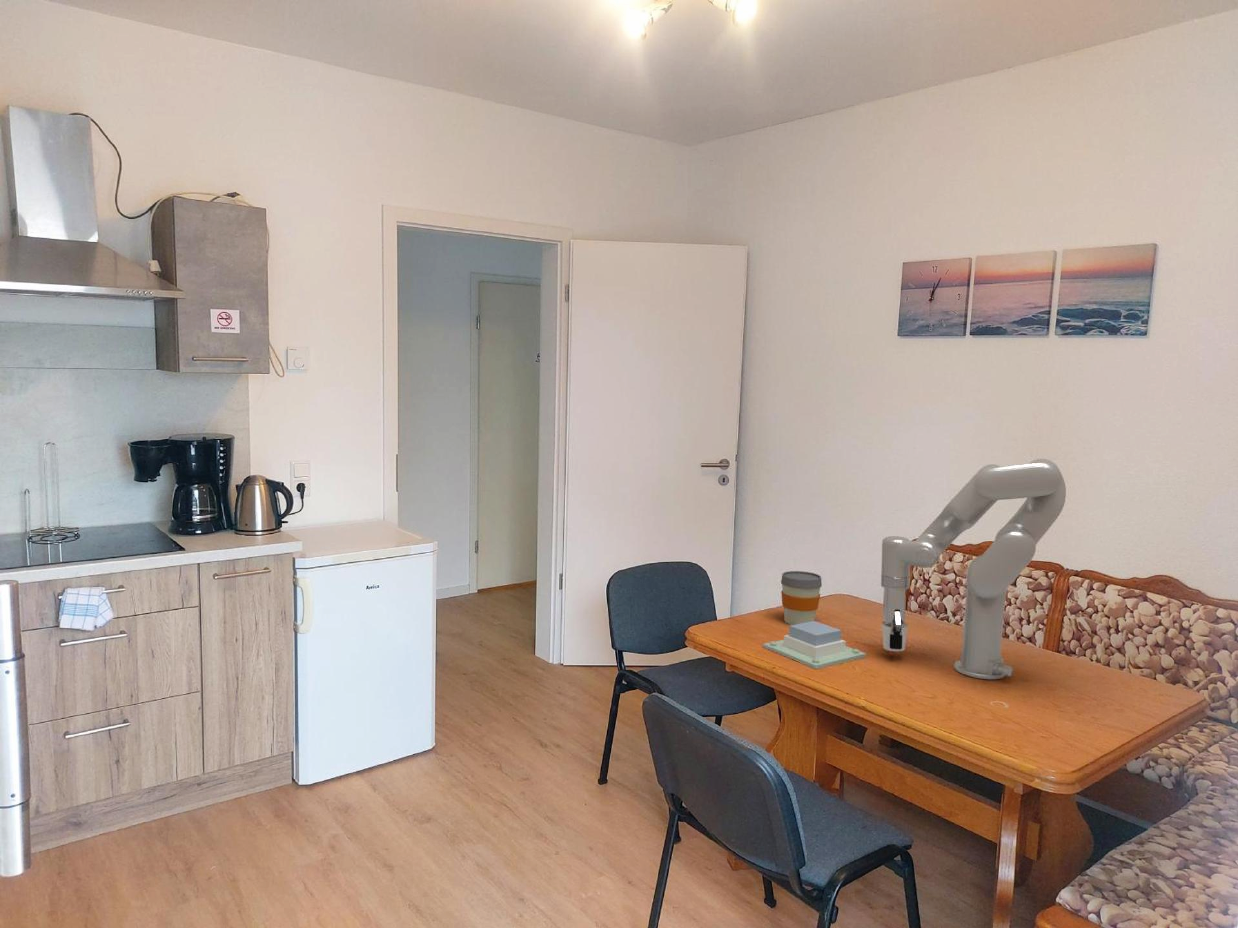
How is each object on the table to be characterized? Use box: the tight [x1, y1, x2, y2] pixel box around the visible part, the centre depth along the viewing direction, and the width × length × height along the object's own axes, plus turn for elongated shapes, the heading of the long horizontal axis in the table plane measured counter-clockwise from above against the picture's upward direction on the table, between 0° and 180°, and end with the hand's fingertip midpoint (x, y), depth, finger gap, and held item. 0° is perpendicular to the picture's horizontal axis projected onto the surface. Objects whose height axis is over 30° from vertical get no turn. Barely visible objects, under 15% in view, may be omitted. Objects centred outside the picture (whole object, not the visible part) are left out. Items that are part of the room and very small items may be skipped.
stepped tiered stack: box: [762, 620, 867, 670], centre depth 234 cm, size 20×20×7 cm
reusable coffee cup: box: [780, 570, 823, 626], centre depth 262 cm, size 13×13×15 cm
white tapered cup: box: [881, 621, 909, 652], centre depth 231 cm, size 7×7×7 cm
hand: (894, 644), depth 231 cm, fingers closed on white tapered cup, 6 cm apart
